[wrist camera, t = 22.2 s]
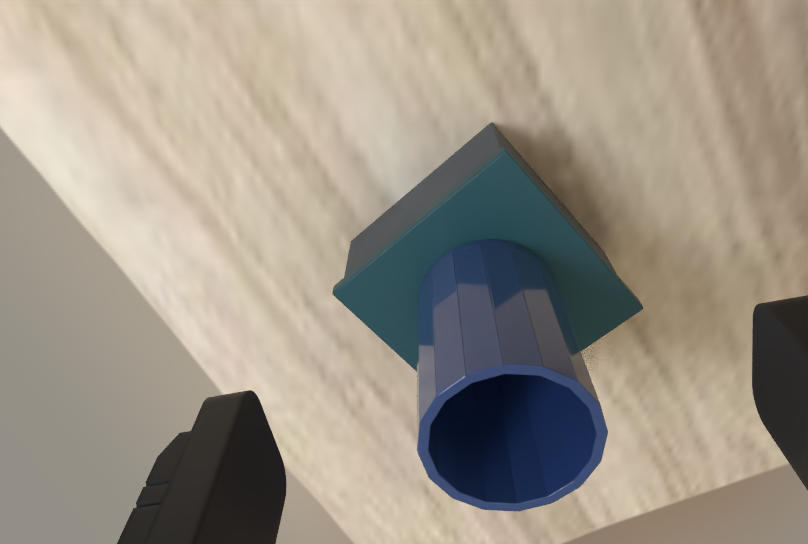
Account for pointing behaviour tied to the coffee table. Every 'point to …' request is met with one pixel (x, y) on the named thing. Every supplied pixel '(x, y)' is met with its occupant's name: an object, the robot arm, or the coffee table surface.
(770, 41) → the coffee table surface
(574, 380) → the cup
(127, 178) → the coffee table surface
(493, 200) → the container
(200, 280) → the coffee table surface
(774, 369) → the robot arm
